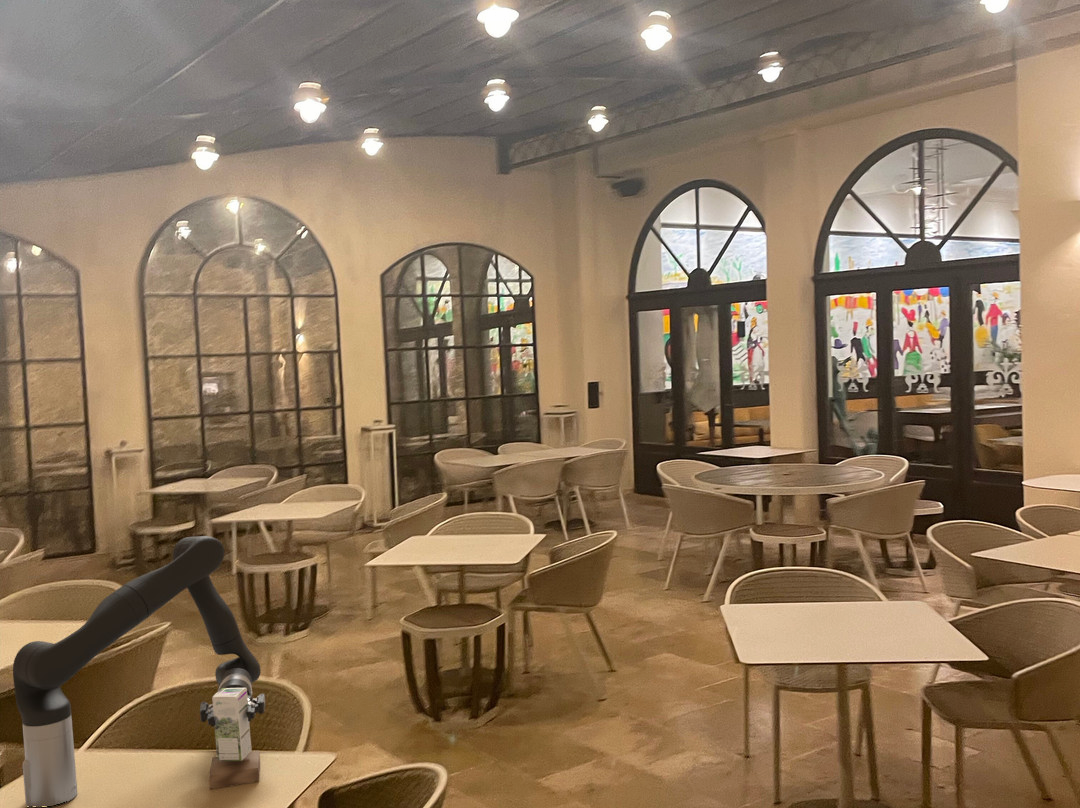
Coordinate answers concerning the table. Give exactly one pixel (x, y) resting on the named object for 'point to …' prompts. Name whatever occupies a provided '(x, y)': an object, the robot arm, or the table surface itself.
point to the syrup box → (231, 724)
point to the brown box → (234, 771)
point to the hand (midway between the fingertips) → (231, 719)
